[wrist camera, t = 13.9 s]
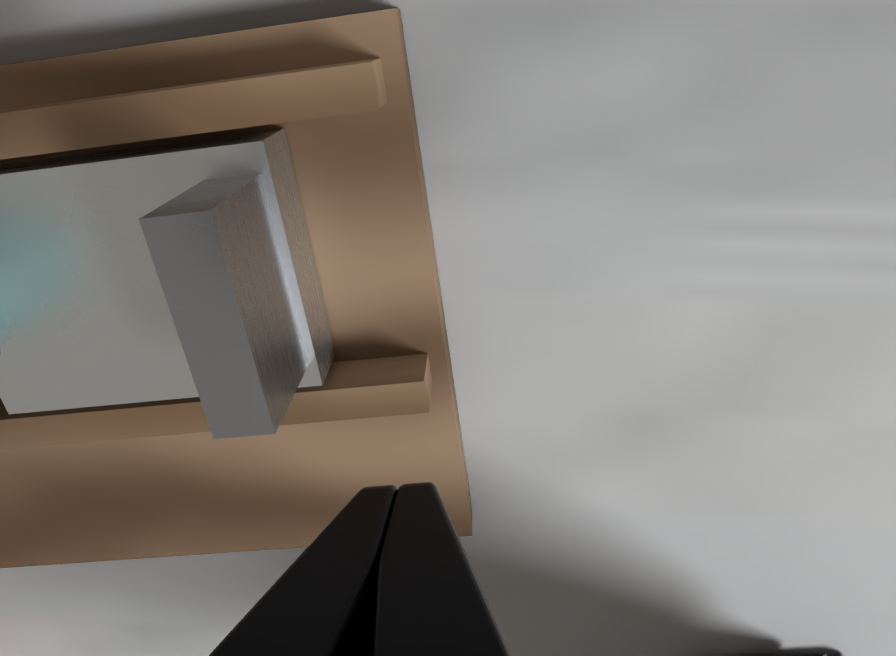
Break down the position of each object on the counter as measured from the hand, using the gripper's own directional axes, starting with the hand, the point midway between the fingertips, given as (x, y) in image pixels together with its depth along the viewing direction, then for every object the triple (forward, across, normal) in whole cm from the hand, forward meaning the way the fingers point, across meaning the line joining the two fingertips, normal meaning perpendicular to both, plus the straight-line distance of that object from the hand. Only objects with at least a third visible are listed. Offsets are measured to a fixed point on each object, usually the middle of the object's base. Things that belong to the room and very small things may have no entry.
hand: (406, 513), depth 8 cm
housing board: (+12, +10, +2) cm, 16 cm away
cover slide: (+11, +8, 0) cm, 13 cm away
